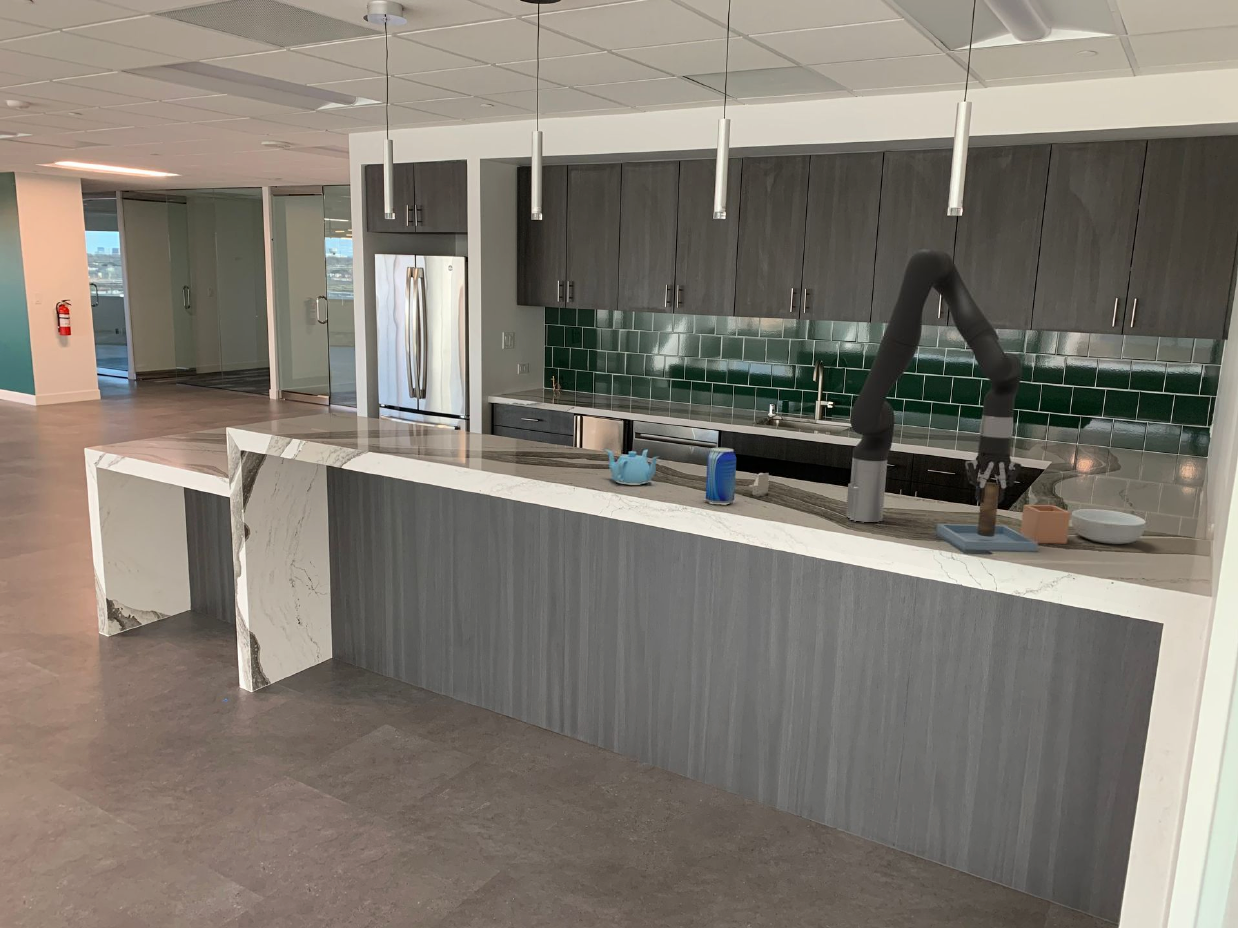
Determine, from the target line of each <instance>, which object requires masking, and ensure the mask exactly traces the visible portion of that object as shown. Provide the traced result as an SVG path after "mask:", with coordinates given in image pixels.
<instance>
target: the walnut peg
mask: <svg viewBox="0 0 1238 928" xmlns="http://www.w3.org/2000/svg"><path fill="white" fill-rule="evenodd" d="M983 488H985V491H984V501H983V503H981V502H979V504H980V505H979V512H978V523H977V525H978V532H977V534H978V535H981V536H987V537H992V536H994V534H995V525H997V522H996V521H997V516H998V515H997V513H998V505H999V503H998V495H999V484H997V482H987V481H986V483H985V486H984V487H983Z"/></svg>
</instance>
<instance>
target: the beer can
mask: <svg viewBox="0 0 1238 928" xmlns="http://www.w3.org/2000/svg"><path fill="white" fill-rule="evenodd" d="M734 451H735V450H734V449H733V448H728V447H712V448H711V449H710V452H709V453H708V454H707V458H706V460H707V462H706V481H705V500H706V501H707V502H708V501H709V502H713V503H731V502H732V503H733V502H734V500H735V492H736V491H735V490H736V489H735V488H736V471H737V470H736V469H737V457H736V454H735V453H734ZM732 503H731V504H732Z"/></svg>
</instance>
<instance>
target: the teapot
mask: <svg viewBox="0 0 1238 928" xmlns="http://www.w3.org/2000/svg"><path fill="white" fill-rule="evenodd" d="M605 451H606V452H607V455H608V467H609V470H610V472H611V478H612V480H613V481H614V480H616V481H619V482H626V483H643V482H648V481H649V482H650V481H651V480H652V478H653V476H654V475H655V473H656V469H657V468H656V465H657V463H656V462H657V460H658V458H659V457H660V456H661V455H659V456H653V457H652V458H651V460H650V465H649V462H648V460H647V455H648V451H649V450H648V449H644V450H643V451H642V454H641V455H638V454H637V452H636V451H633V450H631V451H628V454H624V455H621V456H619V458H618V459H617V461H615V457H614V453H613V451H611V450H609V449H606V448H605ZM649 482H648V483H649Z"/></svg>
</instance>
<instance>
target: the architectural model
mask: <svg viewBox="0 0 1238 928" xmlns="http://www.w3.org/2000/svg"><path fill="white" fill-rule="evenodd" d="M769 474H770V473H769V472H765V473H763V472H759V473H758V476H757V477H756V478H755V481H754V480H753V481H752V484H749V486H748V487H750V488H752V494H762V493H764V492H768V493H769V486H770V484H769V478H770V477H769V476H770V475H769Z"/></svg>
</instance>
